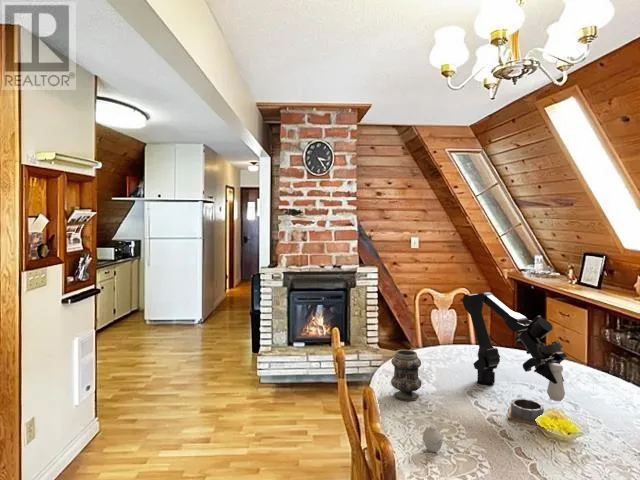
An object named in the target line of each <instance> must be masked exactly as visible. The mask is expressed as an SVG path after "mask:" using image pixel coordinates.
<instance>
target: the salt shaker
mask: <svg viewBox="0 0 640 480" xmlns="http://www.w3.org/2000/svg"><path fill="white" fill-rule="evenodd" d="M550 370H551V372H552V374H553V376H554V377H555V379H556V381H557V383H556V384H554V383H553V382H551V381H550V380H548V381H549V382H548V385H547V388H546V393H547V396H548V397H549V399H550V400H551V401H554V402H561V401H563V399H564V397H565V395H566V391H565V386H564V381H563V380H562V376H563V374H561V373H563V370H564V367H563V365H562V364H561V363H560V364H557V363H552V364H550Z"/></svg>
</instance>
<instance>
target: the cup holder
mask: <svg viewBox="0 0 640 480" xmlns="http://www.w3.org/2000/svg"><path fill="white" fill-rule="evenodd" d="M544 408H545V406H544V404H543V403H541V402H539V401H537V400H534V399H529V398H514V399H512V400H511V402H510V406H509V411H508V414H507V421H511V422H517V423H522V424H525V425H526V424H527V425H532V426H536V427H537V426H538V425H537V423H536V421H535V419H536V418H537V417H538V416H540V415H542V414H543V413H544V412H546V411H547V410H544ZM546 413H547V412H546ZM538 427H539V426H538Z"/></svg>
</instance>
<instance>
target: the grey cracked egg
mask: <svg viewBox="0 0 640 480" xmlns="http://www.w3.org/2000/svg"><path fill="white" fill-rule="evenodd" d="M422 435H423V436H422V442H423V443H424V445H425V448H426V449H427V450H428V451H429V452H431V453H436V452H437V453H438V451H440V449H441V448H442V446H443V442H444V438H443V436H442V433H441V432H440V430H439V428H438V426H432V425H429V426H426V427H425V429H424V430H423V434H422Z"/></svg>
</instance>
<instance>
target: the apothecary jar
mask: <svg viewBox="0 0 640 480" xmlns="http://www.w3.org/2000/svg"><path fill="white" fill-rule="evenodd" d="M391 364H392V367H394V369H393V370H394V371H393V373H394V374H393V376H392V377H391V378H390V379H391V380H390V384H391V386H392V387H393V388H394V389H395V390H396V392H395V393H394V394H393V398H395V399H397V400H398V401H403V402H412V401H417V400H419V397H420V395H419V394H418V393H416V392H415V391H418V390H419V389H420V388H421V387H422V380H421V379H420V378H419V368H420V367H421V365H422V360H421V359H420V358H419V357H418V353H417V351H414V350H410V349H398V350H396V351H395V354H394V356H393V357H392V358H391Z"/></svg>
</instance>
